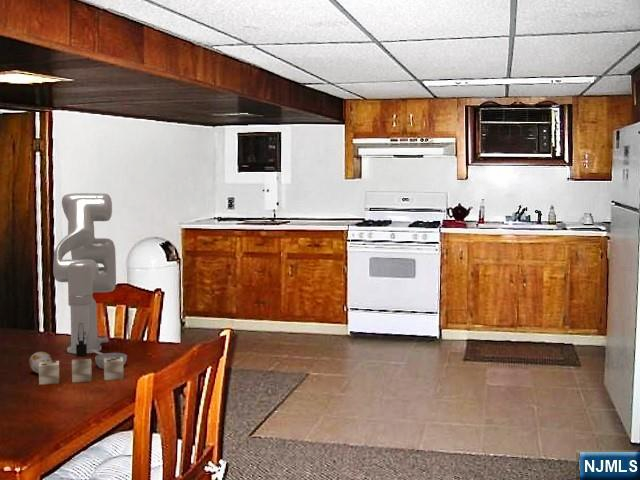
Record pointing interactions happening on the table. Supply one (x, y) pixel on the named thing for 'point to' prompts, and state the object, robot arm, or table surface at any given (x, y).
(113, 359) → the pip block
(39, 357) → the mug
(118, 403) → the table surface
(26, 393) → the table surface
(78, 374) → the plain block
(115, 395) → the table surface
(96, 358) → the small pan
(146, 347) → the table surface
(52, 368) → the pip block
